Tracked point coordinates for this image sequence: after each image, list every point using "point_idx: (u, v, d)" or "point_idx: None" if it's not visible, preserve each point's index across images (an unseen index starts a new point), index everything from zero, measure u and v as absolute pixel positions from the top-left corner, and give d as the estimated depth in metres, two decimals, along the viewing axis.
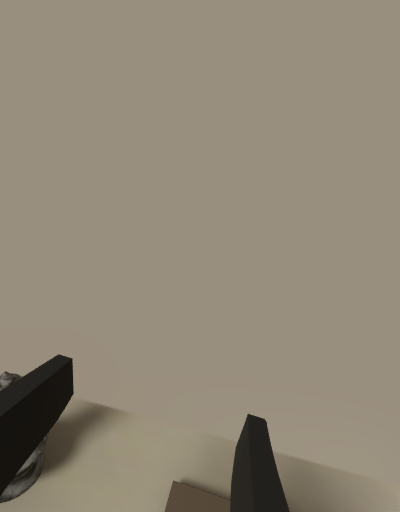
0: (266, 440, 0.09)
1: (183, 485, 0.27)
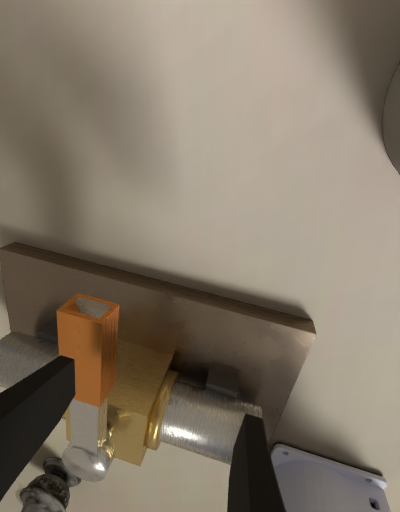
0: (262, 439, 0.09)
1: None
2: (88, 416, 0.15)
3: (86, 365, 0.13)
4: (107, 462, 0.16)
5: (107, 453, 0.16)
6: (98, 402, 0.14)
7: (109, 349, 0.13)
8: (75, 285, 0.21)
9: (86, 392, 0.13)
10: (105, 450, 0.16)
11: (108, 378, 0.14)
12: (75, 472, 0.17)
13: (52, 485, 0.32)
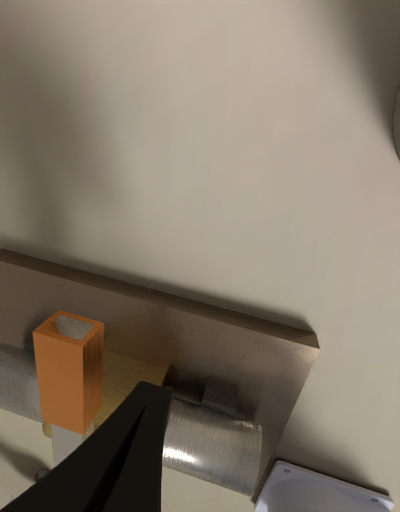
0: (163, 407, 0.09)
1: None
2: (72, 443, 0.13)
3: (67, 390, 0.11)
4: None
5: None
6: (81, 429, 0.12)
7: (93, 372, 0.12)
8: (64, 295, 0.20)
9: (68, 419, 0.12)
10: None
11: (93, 402, 0.13)
12: None
13: None
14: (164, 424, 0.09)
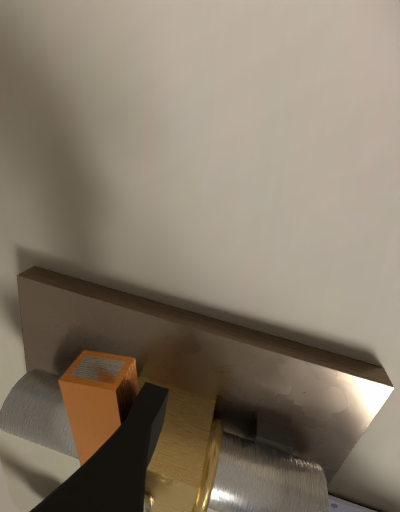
0: (150, 403, 0.10)
1: None
2: None
3: (106, 440, 0.10)
4: None
5: None
6: None
7: None
8: (105, 319, 0.18)
9: None
10: None
11: None
12: None
13: None
14: (151, 420, 0.09)
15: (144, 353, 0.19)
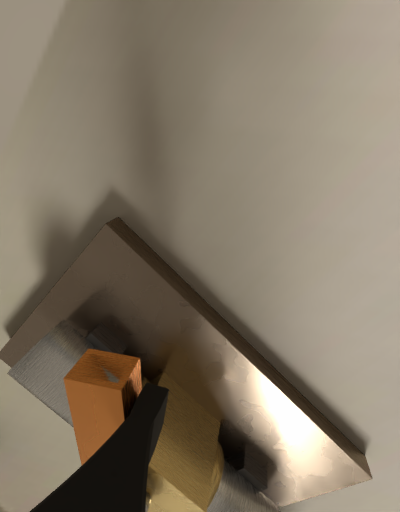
0: (152, 404, 0.10)
1: (3, 350, 0.22)
2: None
3: None
4: None
5: None
6: None
7: None
8: (172, 314, 0.17)
9: None
10: None
11: None
12: None
13: None
14: (152, 420, 0.09)
15: (186, 359, 0.18)
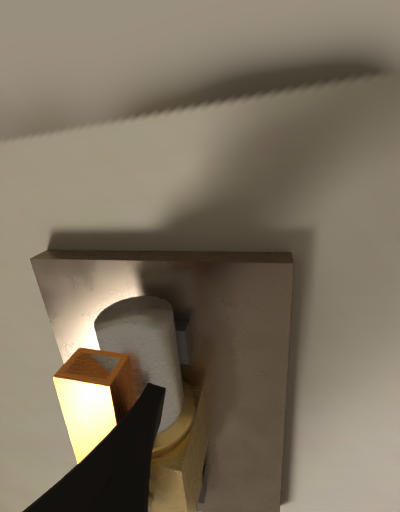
0: (154, 404, 0.09)
1: (44, 260, 0.18)
2: None
3: (102, 437, 0.10)
4: None
5: None
6: None
7: None
8: (263, 361, 0.17)
9: None
10: None
11: None
12: None
13: None
14: (154, 421, 0.09)
15: (235, 393, 0.18)
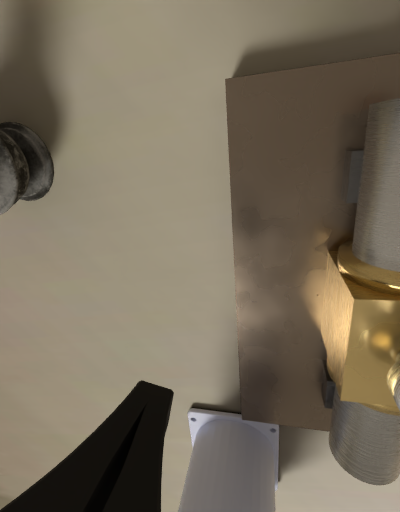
0: (163, 407, 0.09)
1: (247, 78, 0.14)
2: None
3: None
4: None
5: None
6: None
7: None
8: None
9: None
10: None
11: None
12: None
13: (23, 175, 0.17)
14: (164, 424, 0.09)
15: None
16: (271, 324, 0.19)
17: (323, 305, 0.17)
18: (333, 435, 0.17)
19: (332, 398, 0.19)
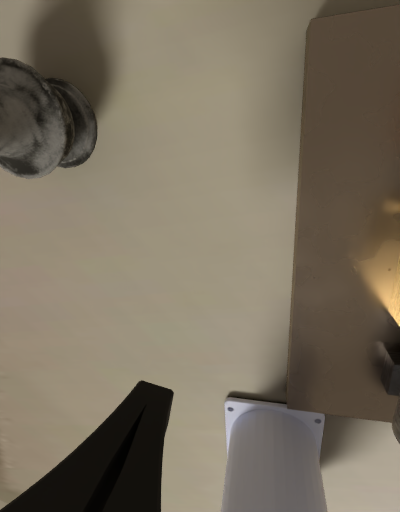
0: (163, 407, 0.09)
1: (336, 18, 0.12)
2: None
3: None
4: None
5: None
6: None
7: None
8: None
9: None
10: None
11: None
12: None
13: (70, 133, 0.16)
14: (164, 424, 0.09)
15: None
16: (333, 303, 0.17)
17: (395, 281, 0.16)
18: None
19: (397, 384, 0.17)
